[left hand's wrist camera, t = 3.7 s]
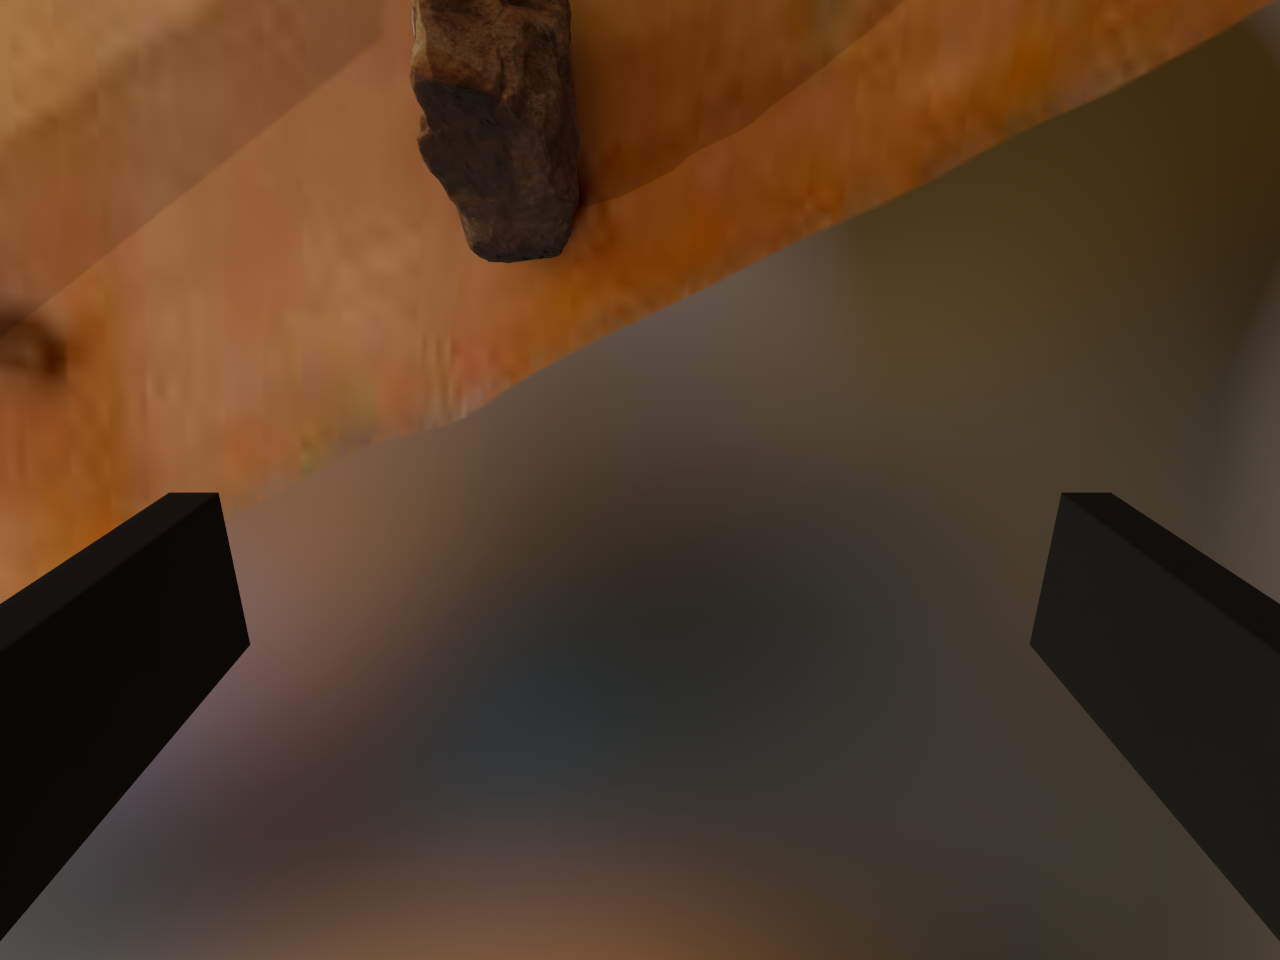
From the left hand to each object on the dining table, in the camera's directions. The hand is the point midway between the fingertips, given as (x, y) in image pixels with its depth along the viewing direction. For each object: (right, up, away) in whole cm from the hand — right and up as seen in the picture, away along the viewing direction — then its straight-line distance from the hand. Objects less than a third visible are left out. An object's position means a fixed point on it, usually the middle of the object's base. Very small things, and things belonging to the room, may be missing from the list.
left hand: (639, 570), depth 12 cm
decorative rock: (-6, +18, +24) cm, 30 cm away
